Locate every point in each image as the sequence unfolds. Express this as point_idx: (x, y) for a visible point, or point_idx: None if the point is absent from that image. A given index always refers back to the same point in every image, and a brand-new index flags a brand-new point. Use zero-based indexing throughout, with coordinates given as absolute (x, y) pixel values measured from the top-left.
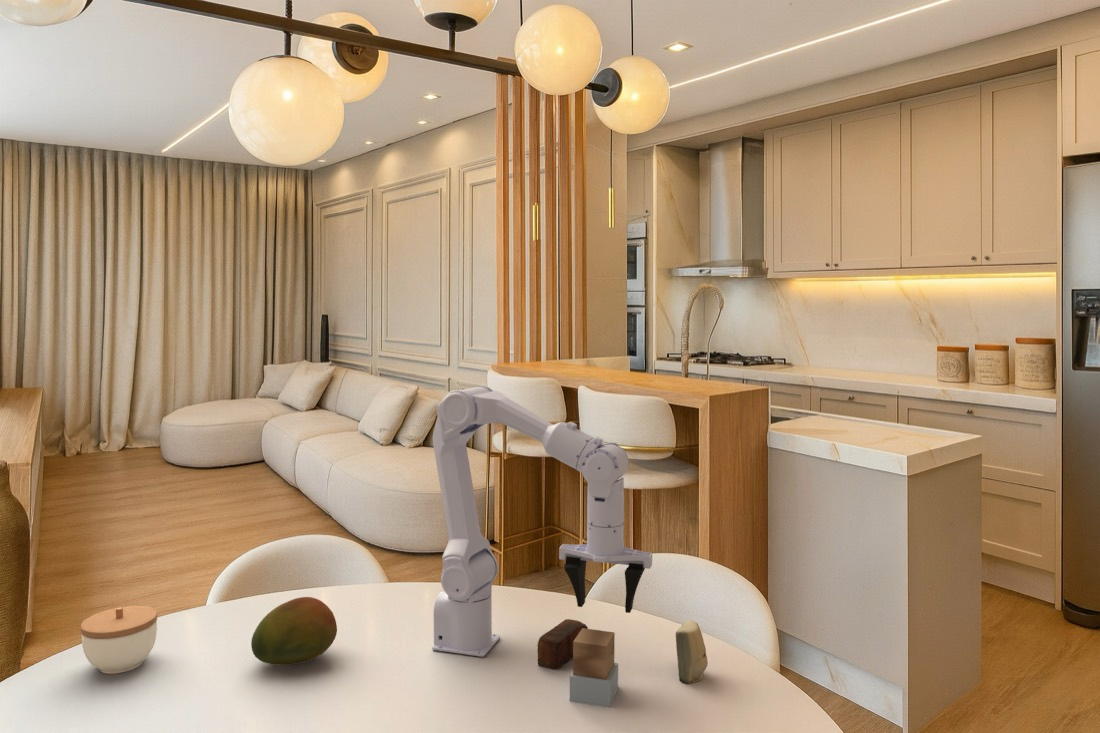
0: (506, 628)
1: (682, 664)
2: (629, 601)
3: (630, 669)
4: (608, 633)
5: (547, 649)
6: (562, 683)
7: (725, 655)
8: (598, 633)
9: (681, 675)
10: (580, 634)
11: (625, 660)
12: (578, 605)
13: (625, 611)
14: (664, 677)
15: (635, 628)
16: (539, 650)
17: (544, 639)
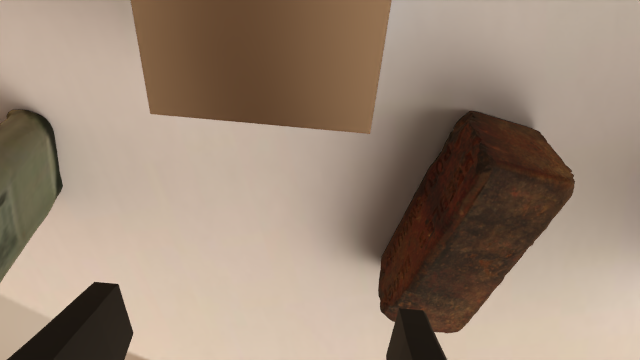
0: (628, 313)
1: None
2: (35, 341)
3: (219, 161)
4: (181, 89)
5: (523, 153)
6: (436, 15)
7: None
8: (245, 74)
9: (24, 122)
10: (368, 26)
11: (249, 207)
12: (421, 314)
13: (113, 288)
14: (103, 133)
15: (267, 350)
16: (552, 156)
17: (551, 182)
